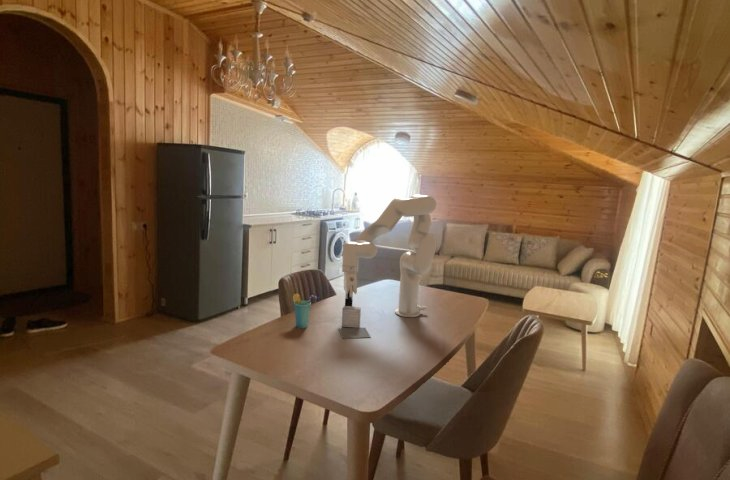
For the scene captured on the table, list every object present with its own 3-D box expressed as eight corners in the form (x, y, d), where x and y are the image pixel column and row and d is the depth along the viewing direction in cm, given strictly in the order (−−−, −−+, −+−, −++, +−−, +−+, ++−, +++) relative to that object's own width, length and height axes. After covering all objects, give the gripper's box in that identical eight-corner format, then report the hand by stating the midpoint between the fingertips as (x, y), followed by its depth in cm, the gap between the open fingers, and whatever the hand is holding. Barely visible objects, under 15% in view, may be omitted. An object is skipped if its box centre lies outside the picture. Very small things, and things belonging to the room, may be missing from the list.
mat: (365, 328, 176) (365, 327, 176) (370, 337, 165) (370, 337, 165) (338, 329, 173) (338, 328, 173) (342, 338, 162) (342, 338, 162)
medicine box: (360, 325, 179) (361, 306, 178) (359, 328, 174) (359, 309, 173) (343, 324, 179) (343, 305, 179) (341, 327, 175) (342, 308, 174)
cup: (321, 326, 175) (323, 293, 173) (312, 332, 168) (313, 298, 166) (295, 320, 180) (296, 289, 178) (285, 326, 173) (286, 293, 171)
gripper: (361, 272, 175) (359, 311, 178) (355, 265, 189) (353, 301, 192) (344, 272, 173) (343, 312, 176) (339, 265, 188) (338, 302, 190)
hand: (348, 306), depth 184 cm, fingers closed
